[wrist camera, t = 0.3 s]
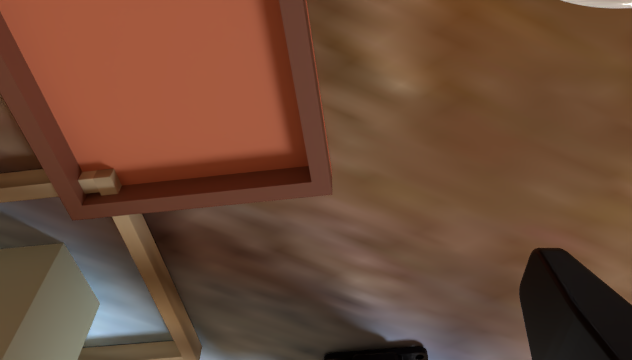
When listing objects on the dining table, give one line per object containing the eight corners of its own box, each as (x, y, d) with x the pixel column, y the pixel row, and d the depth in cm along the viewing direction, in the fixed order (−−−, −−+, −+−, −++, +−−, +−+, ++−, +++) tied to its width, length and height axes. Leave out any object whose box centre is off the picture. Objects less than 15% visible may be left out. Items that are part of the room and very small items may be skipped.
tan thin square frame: (202, 346, 34) (198, 363, 33) (-16, 363, 35) (-25, 379, 34) (117, 160, 25) (110, 176, 24) (-171, 192, 26) (-190, 208, 25)
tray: (331, 169, 25) (332, 194, 24) (86, 195, 26) (72, 220, 25) (271, -234, 16) (266, -233, 14) (-105, -169, 17) (-145, -162, 15)
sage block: (100, 303, 31) (52, 420, 26) (19, 310, 32) (-44, 426, 26) (63, 242, 28) (1, 360, 23) (-26, 251, 29) (-108, 368, 23)
